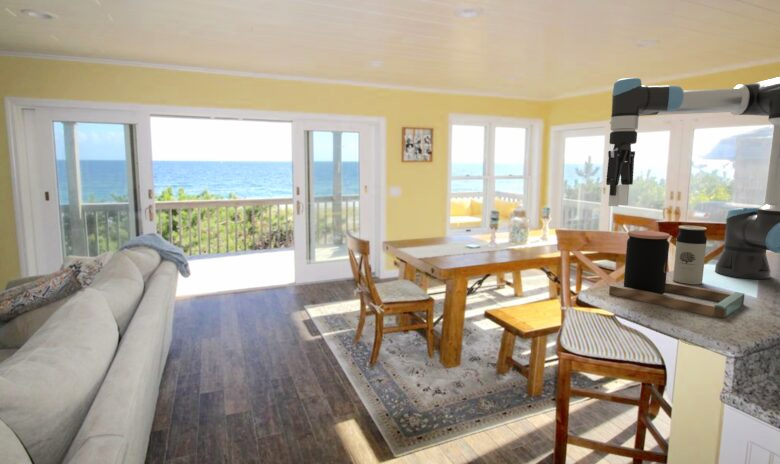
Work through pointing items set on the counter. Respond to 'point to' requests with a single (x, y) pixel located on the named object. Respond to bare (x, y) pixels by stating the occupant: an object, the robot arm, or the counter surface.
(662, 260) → the coffee jar
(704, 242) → the travel mug
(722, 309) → the bay
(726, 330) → the counter surface
